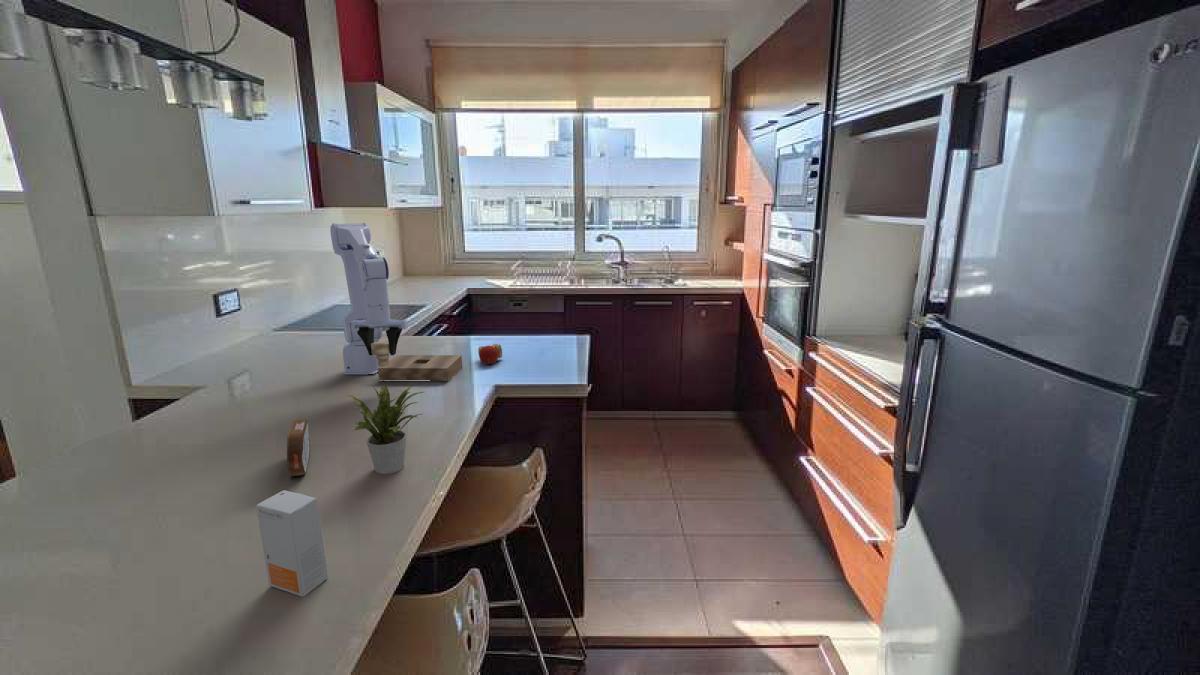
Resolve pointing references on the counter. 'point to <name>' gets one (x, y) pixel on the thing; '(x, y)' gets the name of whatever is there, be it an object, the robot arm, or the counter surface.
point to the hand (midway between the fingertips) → (382, 354)
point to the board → (421, 367)
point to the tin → (298, 447)
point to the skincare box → (292, 542)
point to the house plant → (386, 431)
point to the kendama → (490, 353)
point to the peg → (381, 352)
